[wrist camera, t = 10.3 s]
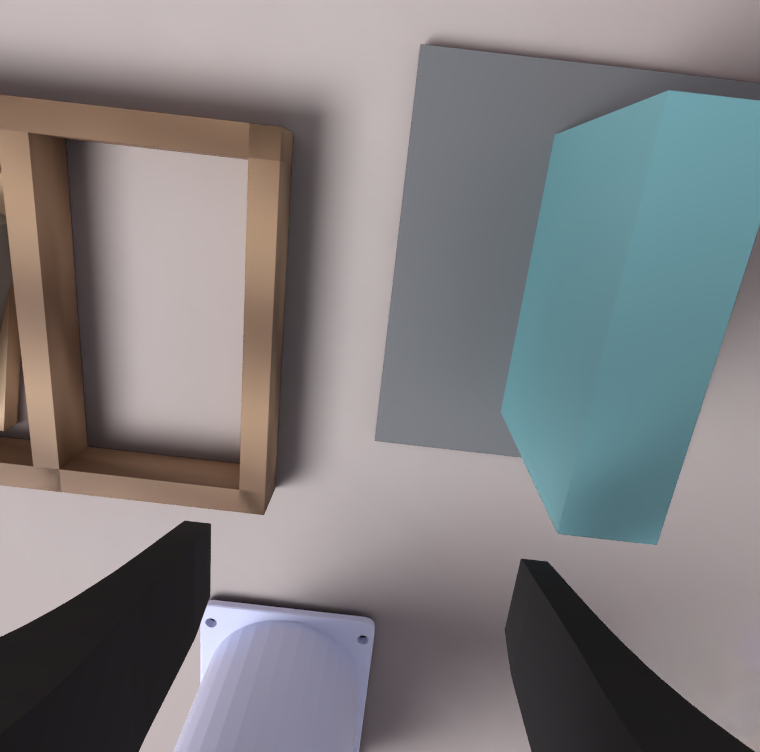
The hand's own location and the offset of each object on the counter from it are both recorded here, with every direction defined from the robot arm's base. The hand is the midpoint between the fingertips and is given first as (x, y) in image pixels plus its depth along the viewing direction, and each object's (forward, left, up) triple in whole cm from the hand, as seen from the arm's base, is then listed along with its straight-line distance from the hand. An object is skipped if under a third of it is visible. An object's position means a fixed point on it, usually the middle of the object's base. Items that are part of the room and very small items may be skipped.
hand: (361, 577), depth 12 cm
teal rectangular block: (+6, -6, -9) cm, 13 cm away
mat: (+6, -6, -10) cm, 13 cm away
